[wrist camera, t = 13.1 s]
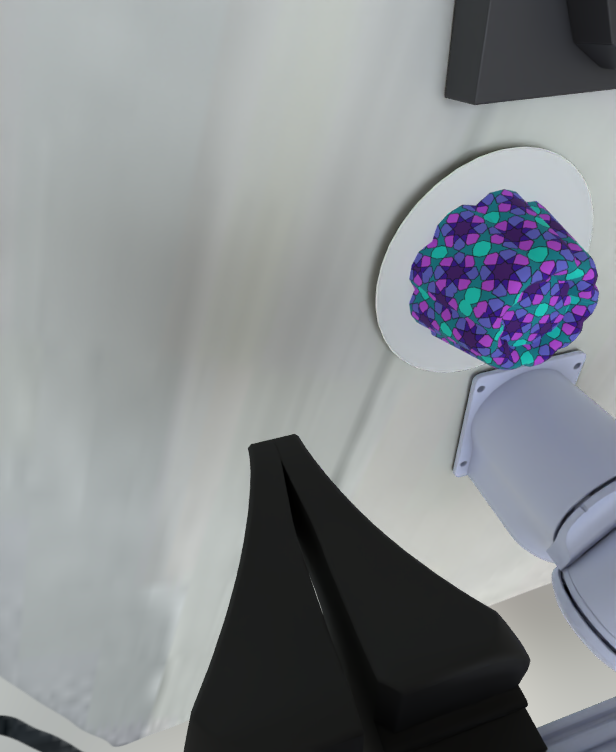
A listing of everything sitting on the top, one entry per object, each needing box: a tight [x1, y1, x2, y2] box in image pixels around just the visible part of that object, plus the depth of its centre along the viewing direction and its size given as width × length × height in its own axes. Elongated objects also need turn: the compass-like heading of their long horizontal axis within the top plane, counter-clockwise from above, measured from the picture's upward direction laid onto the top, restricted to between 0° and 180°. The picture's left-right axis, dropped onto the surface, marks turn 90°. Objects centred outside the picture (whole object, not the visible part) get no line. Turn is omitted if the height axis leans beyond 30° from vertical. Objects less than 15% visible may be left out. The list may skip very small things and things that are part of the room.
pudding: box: [375, 147, 599, 373], centre depth 22 cm, size 12×12×5 cm
